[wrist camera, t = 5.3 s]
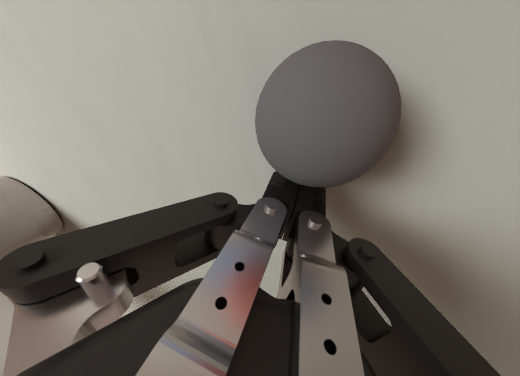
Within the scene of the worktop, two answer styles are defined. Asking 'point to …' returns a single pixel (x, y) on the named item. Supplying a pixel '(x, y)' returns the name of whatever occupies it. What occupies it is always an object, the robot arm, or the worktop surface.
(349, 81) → the grey smooth round ball
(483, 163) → the worktop surface
